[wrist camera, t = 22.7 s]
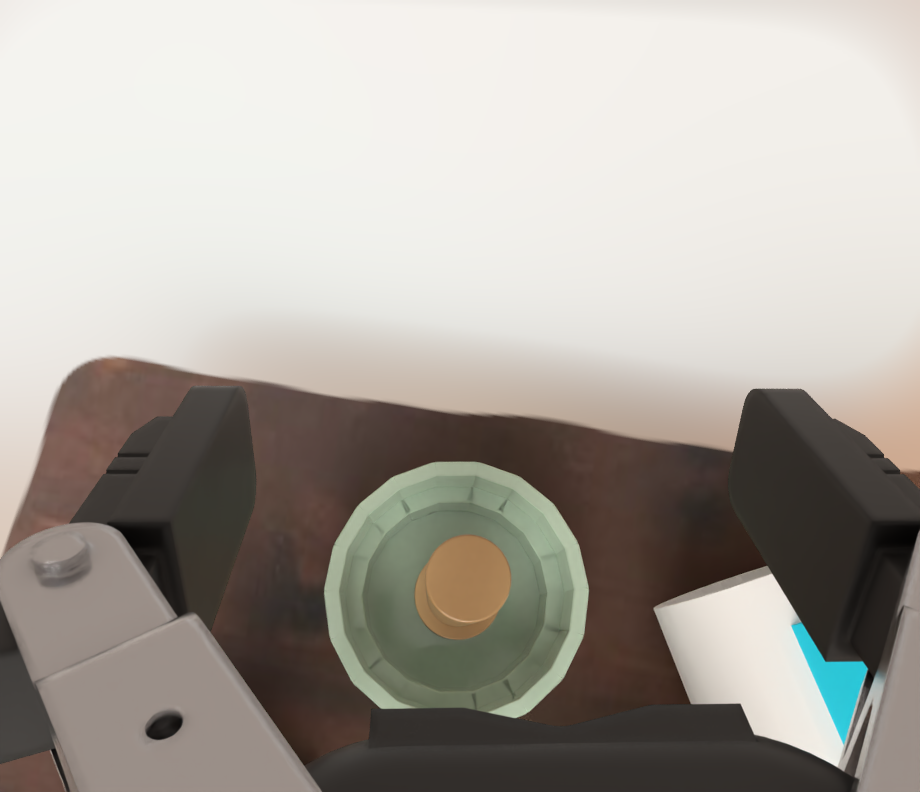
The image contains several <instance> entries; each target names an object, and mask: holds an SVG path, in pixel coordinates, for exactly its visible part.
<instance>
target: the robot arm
mask: <svg viewBox="0 0 920 792" xmlns="http://www.w3.org/2000/svg"><path fill="white" fill-rule="evenodd" d="M106 471H107V472H106V474H103V475H102V477H101V478H100V480H99V481H98V483H97V484H96V486H95V487H94V488H93V490H92V491H91V493H90V494H89V496H88V497H87V498H86V500H85V501H84V503H83V504H82V506H81V507H80V509H79V510H78V511H77V513H76V514H75V516H74V517H73V519H72V520H71V521H70V523H69V524H65V525H61V526H56V527H53V528H50V529H46V530H44V531H41V532H39V533H36V534H34V535H32V536H30V537H28V538H26V539H24V540H23V541H21V542H19V543H18V544H16V545H15V546H14V547H12V548H11V549H10V550H8V551H7V552H6V553H5V554H4V555H3V556H2V557H1V559H0V764H2V763H5V762H9V761H12V760H16V759H19V758H23V757H26V756H30V755H33V754H37V753H40V752H44V751H48V750H50V752H51V755H52V757H53V760H54V763H55V765H56V768H57V770H58V773H59V776H60V778H61V781H62V784H63V786H64V789H65V791H66V792H920V489H919V488H918V487H917V486H916V485H915V484H914V483H913V482H912V481H911V480H910V479H909V478H908V477H907V476H905V475H904V474H900V470H899V469H898V468H897V467H896V466H895V465H894V464H893V463H892V462H891V461H890V460H889V459H888V458H884V454H883V453H882V452H881V451H880V450H879V449H878V448H877V447H876V446H875V445H874V444H873V443H872V442H871V441H870V440H869V439H868V438H867V437H866V436H865V435H863V434H861V433H860V432H858V431H856V430H854V429H852V428H851V427H849V426H847V425H845V424H843V423H842V422H840V421H838V420H836V419H832V418H831V417H830V416H828V414H827V413H826V412H825V411H824V410H823V409H822V408H821V407H820V406H819V405H818V404H817V403H816V402H815V401H814V400H813V399H812V398H811V397H810V396H809V395H808V394H807V393H806V392H805V391H804V390H802V389H753V390H751V391H750V392H749V393H748V395H747V397H746V399H745V403H744V406H743V410H742V415H741V419H740V424H739V429H738V433H737V438H736V442H735V447H734V451H733V456H732V460H731V465H730V469H729V476H728V490H729V497H730V501H731V505H732V507H733V509H734V511H735V513H736V515H737V516H738V518H739V520H740V521H741V523H742V525H743V526H744V528H745V530H746V531H747V533H748V534H749V536H750V538H751V539H752V541H753V543H754V544H755V546H756V548H757V549H758V551H759V553H760V554H761V556H762V558H763V559H764V561H765V563H766V564H767V566H768V568H769V569H770V571H771V573H772V574H773V576H774V577H775V579H776V581H777V582H778V584H779V586H780V587H781V589H782V591H783V592H784V594H785V596H786V597H787V599H788V601H789V602H790V604H791V606H792V607H793V609H794V611H795V612H796V614H797V616H798V617H799V619H800V621H801V622H802V624H803V625H804V627H805V629H806V630H807V632H808V634H809V635H810V637H811V639H812V640H813V642H814V644H815V645H816V647H817V649H818V650H819V652H820V654H821V655H822V657H823V659H824V660H825V662H861V661H863V662H864V664H865V665H866V667H867V668H868V669H867V672H866V675H865V677H864V680H863V683H862V685H861V688H860V691H859V695H858V698H857V702H856V705H855V709H854V712H853V716H852V719H851V722H850V726H849V729H848V733H847V736H846V740H845V743H844V747H843V750H842V754H841V757H840V761H839V764H838V767H836V766H834V765H833V764H831V763H829V762H827V761H825V760H823V759H821V758H819V757H817V756H815V755H813V754H811V753H809V752H806V751H804V750H802V749H799V748H797V747H794V746H792V745H789V744H787V743H783V742H780V741H777V740H774V739H770V738H767V737H763V736H759V735H754V733H753V731H752V728H751V726H750V724H749V722H748V719H747V717H746V715H745V713H744V710H743V708H742V706H741V704H740V703H739V704H672V705H649V706H645V707H641V708H637V709H633V710H629V711H625V712H621V713H617V714H613V715H609V716H606V717H602V718H598V719H594V720H590V721H586V722H582V723H578V724H574V725H570V726H551V725H546V724H541V723H536V722H532V721H527V720H522V719H517V718H512V717H507V716H502V715H497V714H492V713H488V712H483V711H478V710H473V709H468V708H402V709H371V720H370V733H369V739H368V740H364V741H360V742H357V743H353V744H350V745H347V746H345V747H342V748H339V749H337V750H334V751H331V752H329V753H327V754H325V755H323V756H321V757H319V758H317V759H315V760H313V761H311V762H309V763H308V764H306V765H305V766H304V765H303V764H302V762H301V761H300V759H299V758H298V757H297V755H296V754H295V752H294V751H293V749H292V748H291V747H290V745H289V744H288V742H287V741H286V739H285V738H284V737H283V735H282V734H281V732H280V731H279V729H278V728H277V727H276V725H275V724H274V722H273V721H272V720H271V718H270V717H269V715H268V714H267V712H266V711H265V710H264V708H263V707H262V705H261V704H260V702H259V701H258V700H257V698H256V697H255V695H254V694H253V692H252V691H251V690H250V688H249V687H248V685H247V684H246V683H245V681H244V680H243V678H242V677H241V675H240V674H239V673H238V671H237V670H236V668H235V667H234V665H233V664H232V663H231V661H230V660H229V658H228V657H227V655H226V654H225V653H224V651H223V650H222V648H221V647H220V646H219V644H218V643H217V641H216V640H215V638H214V637H213V636H212V634H211V633H210V631H211V629H212V626H213V623H214V620H215V617H216V614H217V611H218V609H219V606H220V603H221V600H222V597H223V594H224V591H225V589H226V586H227V583H228V580H229V577H230V574H231V571H232V569H233V566H234V563H235V560H236V557H237V554H238V551H239V548H240V546H241V543H242V540H243V537H244V534H245V531H246V528H247V526H248V523H249V520H250V517H251V514H252V511H253V508H254V503H255V495H256V470H255V461H254V453H253V445H252V437H251V428H250V420H249V412H248V404H247V398H246V394H245V391H244V389H243V387H242V386H193V387H191V388H190V390H189V391H188V393H187V395H186V396H185V398H184V399H183V401H182V403H181V404H180V406H179V407H178V409H177V411H176V412H175V414H174V415H173V417H156V418H154V419H153V420H151V421H150V422H148V423H147V424H145V425H144V426H142V427H141V428H139V429H138V430H136V431H135V432H133V433H132V434H131V435H130V437H129V438H128V440H127V441H126V442H125V444H124V445H123V447H122V448H121V450H120V451H119V452H118V457H115V458H114V460H113V461H112V463H111V464H110V465H109V467H108V468H107V470H106Z"/></svg>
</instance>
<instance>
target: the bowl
mask: <svg viewBox="0 0 920 792" xmlns="http://www.w3.org/2000/svg"><path fill="white" fill-rule="evenodd" d="M464 534H471V535H477V536H481V537H484V538H486V539H488V540H490V541H491V542H493V543H494V544H495V545H497V546H498V547H499V548H500V550H501V551H502V552H503V553H504V555H505V557H506V558H507V561H508V563H509V566H510V570H511V588H510V592H509V595H508V598H507V600H506V601H505V603H504V605H503V606H502V607H501V608H500V610H499V611H498V614H497V616H496V618H495V619H494V621H493V622H492V624H491V625H490V626H489V627H488V628H487V629H486V630H485V631H483V632H482V633H480V634H479V635H477V636H475V637H472V638H469V639H464V640H452V639H447V638H443V637H441V636H438V635H436V634H435V633H433V632H432V631H431V630H429V629H428V628H427V626H426V625H425V624H424V623H423V621H422V620H421V618H420V616H419V614H418V611H417V609H416V605H415V598H414V592H415V585H416V581H417V578H418V576H419V574H420V572H421V570H422V569H423V568H424V566H425V565H426V564H427V563H428V561H429V559H430V557H431V555H432V553H433V552H434V551H435V549H436V548H437V547H438V546H439V545H441V544H442V543H443V542H445V541H446V540H448V539H450V538H452V537H455V536H458V535H464ZM577 543H578V541H577V540H576V538H575V536H574V535H573V533H572V532H571V530H570V529H569V527H568V525H567V524H566V522H565V521H564V519H563V517H562V516H561V514H560V513H559V511H558V509H557V508H556V506H555V505H554V504H553V503H552V502H551V501H550V500H549V499H547V498H546V497H545V496H544V495H542V494H541V493H540V492H539V491H537V490H536V489H535V488H534V487H532V486H531V485H530V484H529V483H527V482H526V481H525V480H524V479H522V478H521V477H519V476H517V475H515V474H512V473H509V472H506V471H503V470H500V469H498V468H495V467H492V466H489V465H486V464H483V463H480V462H478V463H477V462H432V463H429V464H427V465H424V466H421V467H418V468H415V469H413V470H410V471H407V472H404V473H402V474H399V475H396V476H394V477H392V478H390V479H389V480H388V481H387V482H385V483H384V484H383V485H382V486H380V487H379V488H378V489H377V490H376V491H374V492H373V493H372V494H371V495H369V496H368V497H367V498H366V499H365V500H363V501H362V502H361V503H360V504H359V505H358V506H357V507H356V509H355V510H354V512H353V514H352V515H351V517H350V518H349V520H348V522H347V523H346V525H345V527H344V528H343V530H342V532H341V533H340V535H339V536H338V538H337V540H336V541H335V543H334V546H333V549H332V554H331V558H330V563H329V568H328V572H327V577H326V582H325V586H324V599H325V607H326V614H327V622H328V630H329V637H330V640H331V643H332V644H333V646H334V648H335V650H336V652H337V654H338V656H339V658H340V660H341V662H342V664H343V666H344V668H345V670H346V672H347V674H348V675H349V677H350V679H351V681H352V682H353V684H354V685H355V686H356V687H358V688H359V689H360V690H361V691H362V692H363V693H364V694H365V695H366V696H368V697H369V698H370V699H371V700H372V701H373V702H374V703H375V704H376V705H377V706H379V707H380V708H381V709H402V708H468V709H473V710H478V711H483V712H488V713H492V714H497V715H502V716H507V717H512V718H518V717H520V716H522V715H525V714H527V712H530V711H531V710H532V709H533V708H534V707H535V706H536V705H537V704H538V703H539V702H540V701H541V700H542V699H543V698H544V697H545V696H546V695H547V694H548V693H550V692H551V691H552V690H553V689H554V688H555V687H556V686H557V685H558V684H559V683H560V682H561V681H562V679H563V678H564V677H565V674H566V672H567V670H568V668H569V666H570V664H571V662H572V660H573V658H574V656H575V654H576V652H577V650H578V648H579V646H580V644H581V641H582V639H583V635H584V632H585V623H586V614H587V604H588V595H589V589H588V588H589V586H588V581H587V577H586V573H585V568H584V564H583V560H582V555H581V551H580V547H579V544H577Z"/></svg>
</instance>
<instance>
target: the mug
mask: <svg viewBox="0 0 920 792" xmlns="http://www.w3.org/2000/svg"><path fill="white" fill-rule="evenodd" d="M654 611H655V614H656V616H657V619H658V621H659V624H660V626H661V629H662V632H663V634H664V637H665V639H666V642H667V644H668V647H669V649H670V652H671V654H672V657H673V660H674V662H675V665H676V667H677V670H678V672H679V675H680V677H681V680H682V682H683V685H684V688H685V690H686V693H687V695H688V698H689V700H690V703H691V704H739V703H740V704H741V706H742V708H743V710H744V713H745V715H746V717H747V719H748V722H749V724H750V726H751V728H752V731H753V733H754V735H759V736H763V737H767V738H770V739H774V740H777V741H780V742H783V743H787V744H789V745H792V746H794V747H797V748H799V749H802V750H804V751H806V752H809V753H811V754H813V755H815V756H817V757H819V758H821V759H823V760H825V761H827V762H829V763H831V764H833V765H834V766H836V767H838V764H839V761H840V757H841V754H842V750H843V747H844V743H845V740H846V736H847V733H848V729H849V726H850V722H851V719H852V716H853V712H854V709H855V705H856V702H857V698H858V695H859V691H860V688H861V685H862V683H863V680H864V677H865V675H866V672H867V669H868V668H867V667H866V665H865V664H864V662H863V661H861V662H825V660H824V659H823V657H822V655H821V654H820V652H819V650H818V649H817V647H816V645H815V644H814V642H813V640H812V639H811V637H810V635H809V634H808V632H807V630H806V629H805V627H804V625H803V624H802V622H801V621H800V619H799V617H798V616H797V614H796V612H795V611H794V609H793V607H792V606H791V604H790V602H789V601H788V599H787V597H786V596H785V594H784V592H783V591H782V589H781V587H780V586H779V584H778V582H777V581H776V579H775V577H774V576H773V574H772V573H771V571H770V569H769V568H768V566H765V567H762V568H759V569H755V570H752V571H749V572H746V573H743V574H740V575H737V576H734V577H731V578H728V579H725V580H722V581H719V582H716V583H713V584H711V585H708V586H705V587H702V588H699V589H697V590H694V591H691V592H688V593H686V594H683V595H680V596H678V597H676V598H673V599H671V600H668V601H666V602H663V603H661V604H659V605H657V606H655V607H654Z"/></svg>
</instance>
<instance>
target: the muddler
mask: <svg viewBox="0 0 920 792" xmlns="http://www.w3.org/2000/svg"><path fill="white" fill-rule="evenodd" d="M510 588H511V570H510V566H509V563H508V561H507V558H506V557H505V555H504V553H503V552H502V551H501V550H500V548H499V547H498V546H497V545H495V544H494V543H493V542H491V541H490V540H488V539H486V538H484V537H481V536H477V535H471V534H464V535H458V536H455V537H452V538H450V539H448V540H446V541H445V542H443V543H442V544H441V545H439V546H438V547H437V548H436V549H435V551H434V552H433V553H432V555H431V557H430V559H429V561H428V563H427V564H426V565H425V566H424V568H423V569H422V570H421V572H420V574H419V576H418V578H417V581H416V585H415V592H414V598H415V605H416V609H417V611H418V614H419V616H420V618H421V620H422V621H423V623H424V624H425V625H426V626H427V628H428V629H429V630H431V631H432V632H433V633H435V634H436V635H438V636H441V637H443V638H447V639H452V640H464V639H469V638H472V637H475V636H477V635H479V634H480V633H482V632H483V631H485V630H486V629H487V628H488V627H489V626H490V625H491V624H492V622H493V621H494V619H495V618H496V616H497V614H498V611H499V610H500V608H501V607H502V606H503V605H504V603H505V601H506V600H507V598H508V595H509V592H510Z"/></svg>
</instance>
